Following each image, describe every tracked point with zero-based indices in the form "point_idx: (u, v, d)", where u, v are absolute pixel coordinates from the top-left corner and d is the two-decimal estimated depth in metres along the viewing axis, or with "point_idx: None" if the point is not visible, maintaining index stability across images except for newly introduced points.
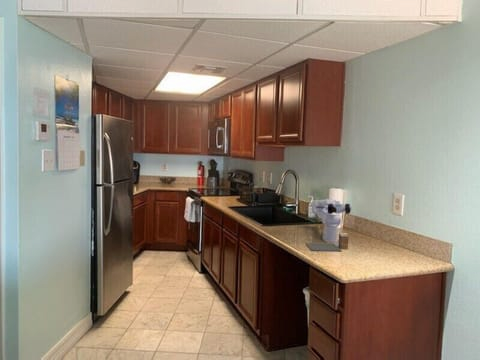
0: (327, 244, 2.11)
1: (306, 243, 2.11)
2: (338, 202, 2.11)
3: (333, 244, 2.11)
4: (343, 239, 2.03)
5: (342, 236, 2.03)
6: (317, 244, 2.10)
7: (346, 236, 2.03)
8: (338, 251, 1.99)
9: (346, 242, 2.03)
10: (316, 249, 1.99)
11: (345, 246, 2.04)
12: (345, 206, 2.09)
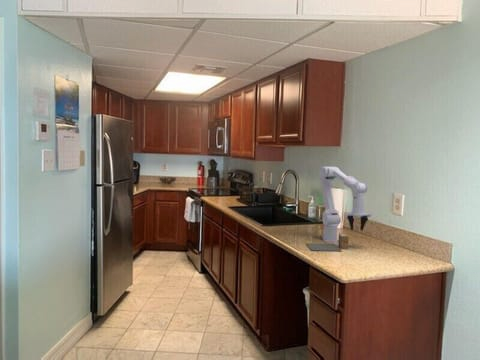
0: (327, 244, 2.11)
1: (306, 243, 2.11)
2: (360, 215, 2.01)
3: (333, 244, 2.11)
4: (343, 239, 2.03)
5: (342, 236, 2.03)
6: (317, 244, 2.10)
7: (346, 236, 2.03)
8: (338, 251, 1.99)
9: (346, 242, 2.03)
10: (316, 249, 1.99)
11: (345, 246, 2.04)
12: (362, 218, 2.03)
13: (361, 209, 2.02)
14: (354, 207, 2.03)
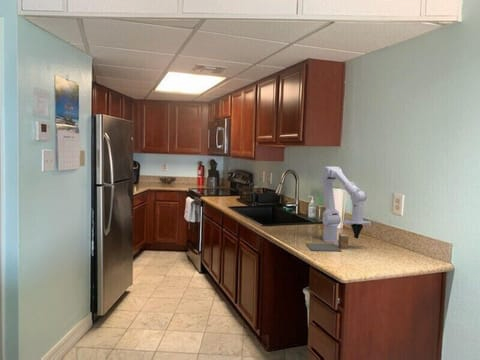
0: (327, 244, 2.11)
1: (306, 243, 2.11)
2: (359, 223, 2.01)
3: (333, 244, 2.11)
4: (343, 239, 2.03)
5: (342, 236, 2.03)
6: (317, 244, 2.10)
7: (346, 236, 2.03)
8: (338, 251, 1.99)
9: (346, 242, 2.03)
10: (316, 249, 1.99)
11: (345, 246, 2.04)
12: (358, 226, 2.04)
13: (361, 217, 2.02)
14: (354, 215, 2.03)
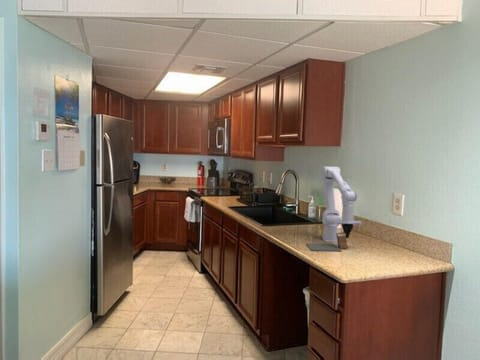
0: (327, 244, 2.11)
1: (306, 243, 2.11)
2: (349, 223, 2.01)
3: (333, 244, 2.11)
4: (341, 239, 2.03)
5: (339, 236, 2.03)
6: (317, 244, 2.10)
7: (343, 235, 2.03)
8: (338, 251, 1.99)
9: (344, 241, 2.03)
10: (316, 249, 1.99)
11: (344, 245, 2.04)
12: (348, 226, 2.03)
13: (351, 217, 2.02)
14: (344, 215, 2.03)
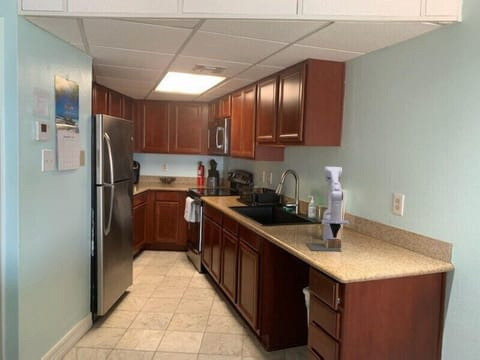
0: None
1: (306, 243, 2.11)
2: (337, 223, 2.01)
3: None
4: (331, 245, 2.03)
5: (328, 246, 2.03)
6: (317, 244, 2.10)
7: (328, 242, 2.03)
8: (338, 251, 1.99)
9: (334, 242, 2.03)
10: (316, 249, 1.99)
11: (337, 243, 2.03)
12: (336, 225, 2.03)
13: (339, 217, 2.02)
14: (332, 215, 2.03)
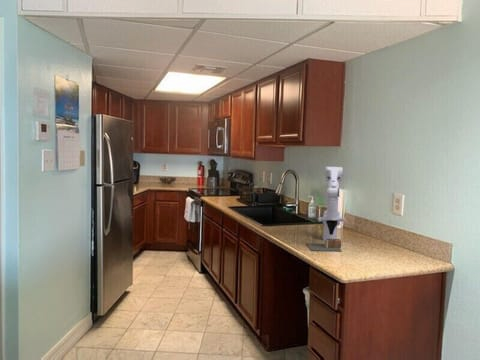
0: None
1: (306, 243, 2.11)
2: (333, 220, 2.01)
3: None
4: (331, 245, 2.03)
5: (328, 246, 2.03)
6: (317, 244, 2.10)
7: (328, 242, 2.03)
8: (338, 251, 1.99)
9: (334, 242, 2.03)
10: (316, 249, 1.99)
11: (337, 243, 2.03)
12: (332, 222, 2.03)
13: (335, 214, 2.01)
14: (328, 212, 2.02)
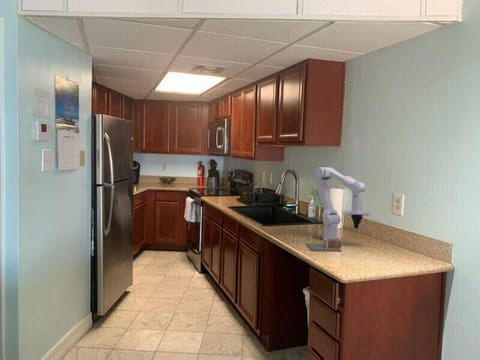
0: None
1: (306, 243, 2.11)
2: (359, 214, 2.05)
3: None
4: (331, 245, 2.03)
5: (328, 246, 2.03)
6: (317, 244, 2.10)
7: (328, 242, 2.03)
8: (338, 251, 1.99)
9: (334, 242, 2.03)
10: (316, 249, 1.99)
11: (337, 243, 2.03)
12: (357, 216, 2.07)
13: (360, 208, 2.06)
14: (353, 206, 2.07)
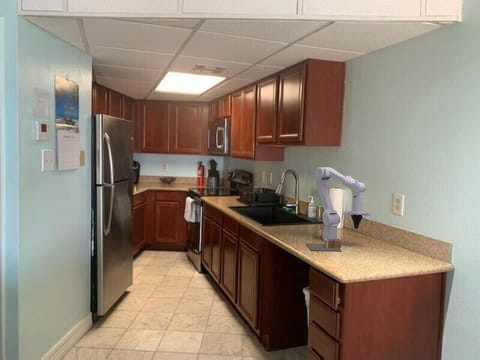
0: None
1: (306, 243, 2.11)
2: (359, 214, 2.05)
3: None
4: (331, 245, 2.03)
5: (328, 246, 2.03)
6: (317, 244, 2.10)
7: (328, 242, 2.03)
8: (338, 251, 1.99)
9: (334, 242, 2.03)
10: (316, 249, 1.99)
11: (337, 243, 2.03)
12: (357, 216, 2.07)
13: (360, 208, 2.06)
14: (353, 206, 2.07)
